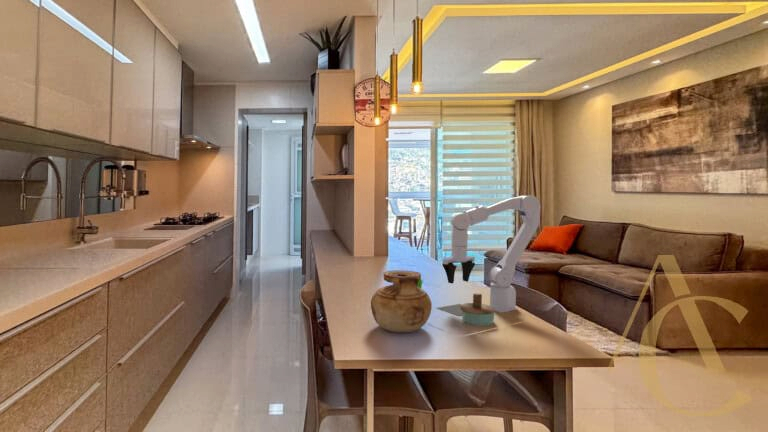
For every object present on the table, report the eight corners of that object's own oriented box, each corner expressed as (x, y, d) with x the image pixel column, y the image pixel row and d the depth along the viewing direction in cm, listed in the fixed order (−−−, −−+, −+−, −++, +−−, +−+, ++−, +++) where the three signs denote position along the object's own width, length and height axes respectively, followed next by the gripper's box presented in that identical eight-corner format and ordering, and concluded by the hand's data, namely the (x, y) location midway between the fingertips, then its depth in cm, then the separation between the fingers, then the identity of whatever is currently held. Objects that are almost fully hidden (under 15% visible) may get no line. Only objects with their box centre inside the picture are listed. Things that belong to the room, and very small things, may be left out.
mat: (459, 304, 160) (459, 303, 160) (482, 312, 150) (482, 311, 150) (435, 309, 153) (435, 307, 153) (458, 317, 143) (458, 316, 143)
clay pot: (354, 314, 134) (378, 256, 136) (402, 330, 141) (423, 275, 143) (377, 332, 116) (403, 265, 118) (430, 349, 123) (454, 286, 125)
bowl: (477, 316, 145) (477, 304, 145) (499, 323, 137) (500, 311, 137) (456, 320, 140) (456, 308, 140) (478, 328, 132) (479, 316, 131)
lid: (476, 303, 146) (477, 289, 146) (501, 311, 137) (501, 296, 137) (453, 307, 141) (454, 292, 140) (477, 316, 131) (477, 300, 131)
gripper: (465, 243, 161) (464, 278, 162) (437, 245, 153) (436, 281, 154) (479, 245, 156) (477, 281, 156) (450, 247, 147) (449, 285, 148)
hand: (458, 282), depth 155 cm, fingers open, 7 cm apart
